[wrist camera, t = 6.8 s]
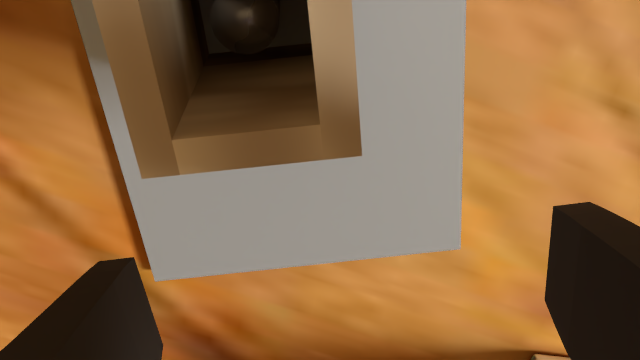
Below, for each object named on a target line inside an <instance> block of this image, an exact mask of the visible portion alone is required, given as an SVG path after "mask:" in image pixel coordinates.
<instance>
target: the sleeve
mask: <svg viewBox="0 0 640 360" xmlns="http://www.w3.org/2000/svg"><path fill="white" fill-rule="evenodd" d="M92 3H93V6H94V10H95V13H96V17H97V20H98V24H99V28H100V31H101V35H102V38H103V42H104V45H105V49H106V53H107V56H108V60H109V63H110V67H111V71H112V74H113V78H114V81H115V85H116V88H117V92H118V96H119V99H120V103H121V106H122V110H123V113H124V117H125V121H126V124H127V128H128V131H129V135H130V139H131V142H132V146H133V149H134V153H135V156H136V160H137V164H138V167H139V171H140V174H141V178H142V179H147V178H157V177H166V176H176V175H185V174H195V173H204V172H214V171H223V170H233V169H243V168H252V167H262V166H271V165H281V164H290V163H300V162H309V161H319V160H328V159H338V158H347V157H357V156H362V145H361V130H360V115H359V101H358V86H357V71H356V56H355V41H354V26H353V11H352V0H307V7H308V16H309V26H310V36H311V43H306V44H297V45H288V46H278V47H269V48H265V49H263V50H262V51H260V52H257V53H253V54H240V53H236V52H233V51H231V52H222V53H212V54H209V51H208V46H207V41H206V35H205V30H204V25H203V20H202V15H201V9H200V4H199V0H92Z"/></svg>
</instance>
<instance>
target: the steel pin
mask: <svg viewBox="0 0 640 360" xmlns="http://www.w3.org/2000/svg"><path fill="white" fill-rule="evenodd" d="M280 5H281V0H215V1H214V3H213V6H212V9H211V14H210V22H211V27H212V30H213V33H214V35H215V36H216V38H217V39H218V41H219V42H220V43H221V44H222V45H223V46H224V47H226V48H227V49H229V50H231V51H233V52H236V53H240V54H253V53H257V52H260V51H262V50H263V49H265V48H266V47H268V46H269V45H270V44H271V43H272V41H273V40H274V38H275V37H276V35H277V32H278V28H279V18H280Z"/></svg>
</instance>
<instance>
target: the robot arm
mask: <svg viewBox="0 0 640 360" xmlns="http://www.w3.org/2000/svg"><path fill="white" fill-rule="evenodd" d="M545 302H546V305H547V307H548V309H549V312H550V314H551V317H552V319H553V322H554V324H555V327H556V329H557V331H558V334H559V336H560V338H561V340H562V343H563V345H564V347H565V349H566V352H567V353H568V355H569V357H570V359H571V360H640V227H639V226H637V225H635V224H634V223H632V222H630V221H628V220H626V219H624V218H622V217H620V216H618V215H616V214H614V213H612V212H610V211H608V210H606V209H604V208H602V207H600V206H598V205H595V204H593V203H591V202H585V203H577V204H568V205H560V206H553V215H552V226H551V237H550V248H549V258H548V269H547V280H546V291H545ZM162 350H163V343H162V340H161V337H160V334H159V331H158V328H157V325H156V322H155V319H154V316H153V313H152V310H151V307H150V304H149V301H148V298H147V295H146V292H145V289H144V286H143V283H142V280H141V277H140V274H139V271H138V268H137V265H136V262H135V259H134V257H132V258H123V259H115V260H107V261H99V262H98V263H97V264H95V265H94V266H93V267H92V268H90V269H89V270H88V271H87V272H86V273H85V274H84V275H82V276H81V277H80V278H79V279H78V280H77V281H76V282H75V283H74V284H73V285H72V286H70V287H69V288H68V289H67V290H66V291H65V292H64V293H63V294H62V295H61V296H60V297H59V298H58V299H57V300H56V301H54V302H53V303H52V304H51V305H50V306H49V307H48V308H47V309H46V310H45V311H44V312H43V313H42V314H41V315H39V316H38V317H37V318H36V319H35V320H34V321H33V322H32V323H31V324H30V325H29V326H28V327H26V328H25V329H24V330H23V331H22V332H21V333H20V334H19V335H18V336H17V337H16V338H15V339H14V340H12V341H11V342H10V343H9V344H8V345H7V346H6V347H5V348H4V349H2V350H1V351H0V360H161V358H162Z"/></svg>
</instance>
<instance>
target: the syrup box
mask: <svg viewBox="0 0 640 360" xmlns="http://www.w3.org/2000/svg"><path fill="white" fill-rule="evenodd" d="M531 360H571V359H570V358H567V357H559V356H549V355H541V354H535V355H533V357H532V359H531Z"/></svg>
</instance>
